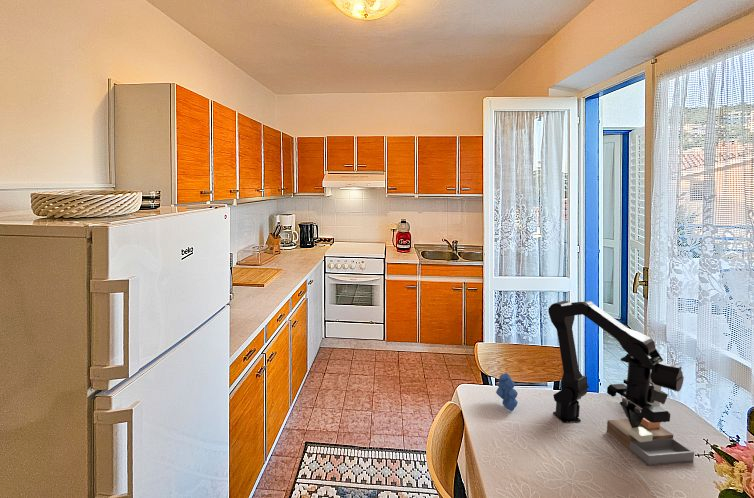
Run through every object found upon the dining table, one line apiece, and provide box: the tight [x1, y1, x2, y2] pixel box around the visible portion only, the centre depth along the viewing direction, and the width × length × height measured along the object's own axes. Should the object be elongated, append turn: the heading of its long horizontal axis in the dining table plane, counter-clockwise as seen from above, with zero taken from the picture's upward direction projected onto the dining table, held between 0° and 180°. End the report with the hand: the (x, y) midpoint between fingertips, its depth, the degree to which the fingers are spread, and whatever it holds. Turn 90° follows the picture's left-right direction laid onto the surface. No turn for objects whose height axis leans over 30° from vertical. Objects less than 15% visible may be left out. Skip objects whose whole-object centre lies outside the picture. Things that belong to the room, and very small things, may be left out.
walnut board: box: [606, 418, 674, 451], centre depth 130 cm, size 14×10×4 cm
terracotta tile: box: [641, 418, 661, 429], centre depth 131 cm, size 4×4×2 cm
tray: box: [628, 437, 695, 467], centre depth 121 cm, size 14×7×3 cm, turn 98°
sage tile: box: [630, 427, 653, 442], centre depth 124 cm, size 4×4×2 cm
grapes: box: [495, 372, 519, 412], centre depth 149 cm, size 12×7×12 cm, turn 9°
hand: (634, 429), depth 126 cm, fingers closed
